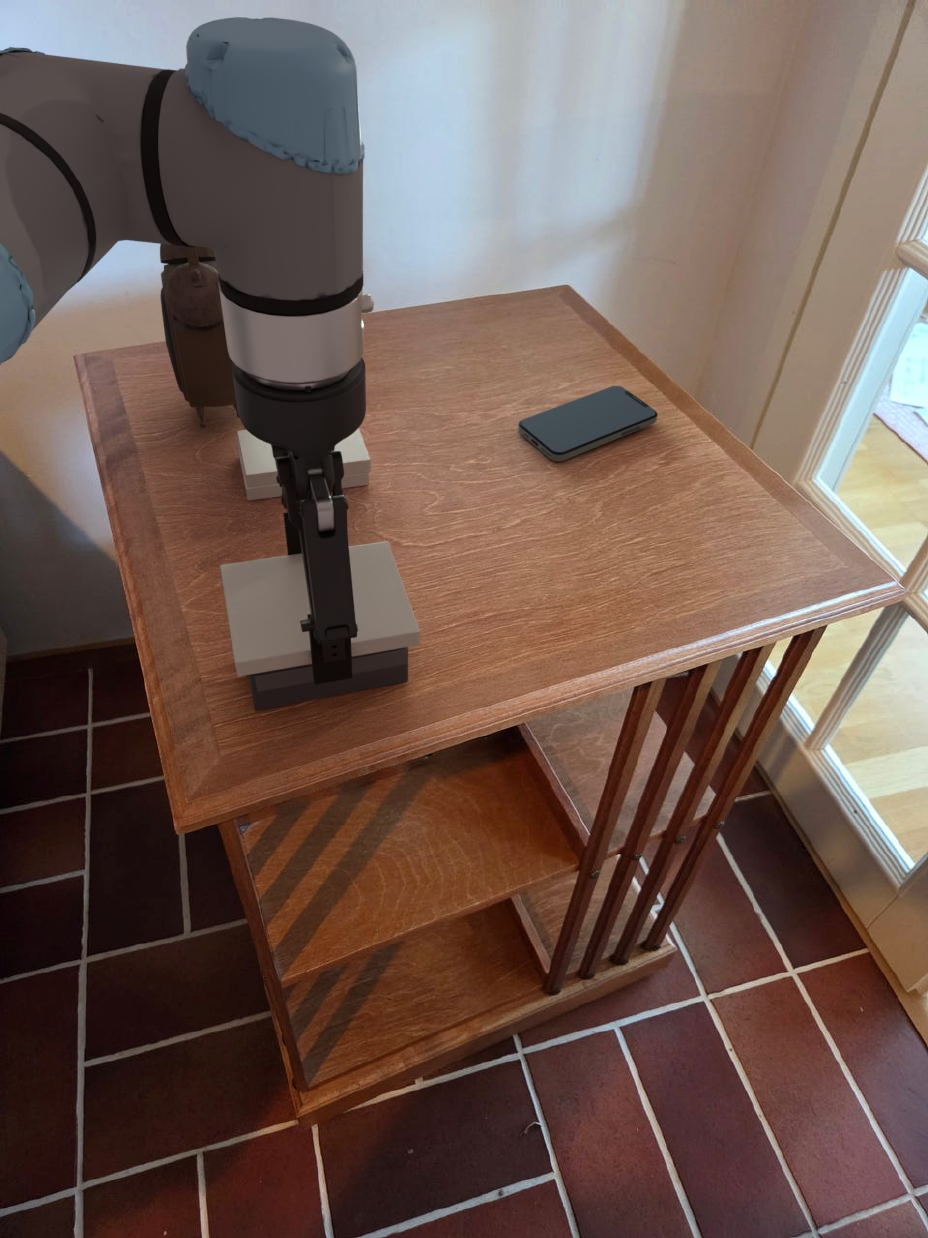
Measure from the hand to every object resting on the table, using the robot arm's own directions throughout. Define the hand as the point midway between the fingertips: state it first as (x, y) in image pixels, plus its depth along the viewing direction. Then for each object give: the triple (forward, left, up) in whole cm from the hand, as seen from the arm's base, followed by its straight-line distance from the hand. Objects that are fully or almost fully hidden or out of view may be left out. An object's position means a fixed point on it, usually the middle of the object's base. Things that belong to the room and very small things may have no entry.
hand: (319, 624), depth 63 cm
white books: (-11, +24, -5) cm, 27 cm away
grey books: (0, 0, -5) cm, 5 cm away
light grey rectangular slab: (0, 0, +1) cm, 1 cm away
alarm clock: (-24, +32, -5) cm, 41 cm away
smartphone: (+16, +41, -5) cm, 44 cm away
